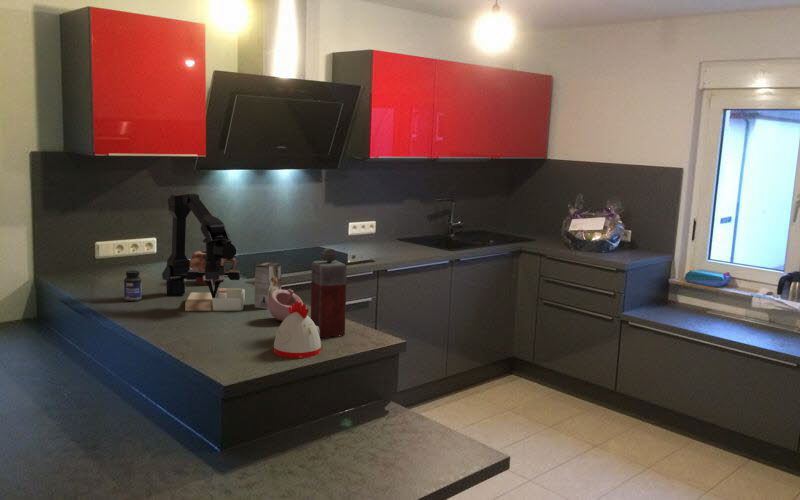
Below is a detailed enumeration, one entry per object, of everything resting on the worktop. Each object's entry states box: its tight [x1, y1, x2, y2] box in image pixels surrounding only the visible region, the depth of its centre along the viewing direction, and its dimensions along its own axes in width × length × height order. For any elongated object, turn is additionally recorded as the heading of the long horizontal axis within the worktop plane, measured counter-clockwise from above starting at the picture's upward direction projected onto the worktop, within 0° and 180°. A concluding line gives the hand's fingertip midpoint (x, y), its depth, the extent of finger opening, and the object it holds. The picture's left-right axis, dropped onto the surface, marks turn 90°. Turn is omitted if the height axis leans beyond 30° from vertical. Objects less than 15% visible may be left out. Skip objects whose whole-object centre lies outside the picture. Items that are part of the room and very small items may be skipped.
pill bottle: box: [123, 270, 143, 302], centre depth 256 cm, size 6×6×11 cm
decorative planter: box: [189, 249, 237, 286], centre depth 292 cm, size 20×12×14 cm, turn 105°
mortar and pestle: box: [267, 288, 304, 322], centre depth 235 cm, size 12×12×11 cm
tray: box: [212, 288, 246, 312], centre depth 255 cm, size 10×17×4 cm, turn 10°
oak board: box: [184, 291, 213, 312], centre depth 253 cm, size 9×17×3 cm, turn 11°
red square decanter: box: [310, 247, 348, 338], centre depth 221 cm, size 9×11×28 cm
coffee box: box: [254, 261, 282, 310], centre depth 255 cm, size 9×6×16 cm
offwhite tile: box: [218, 293, 226, 298], centre depth 250 cm, size 4×4×2 cm
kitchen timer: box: [273, 301, 322, 359], centre depth 200 cm, size 14×14×15 cm
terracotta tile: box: [218, 287, 227, 293], centre depth 258 cm, size 4×4×2 cm
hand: (213, 298), depth 250 cm, fingers closed
